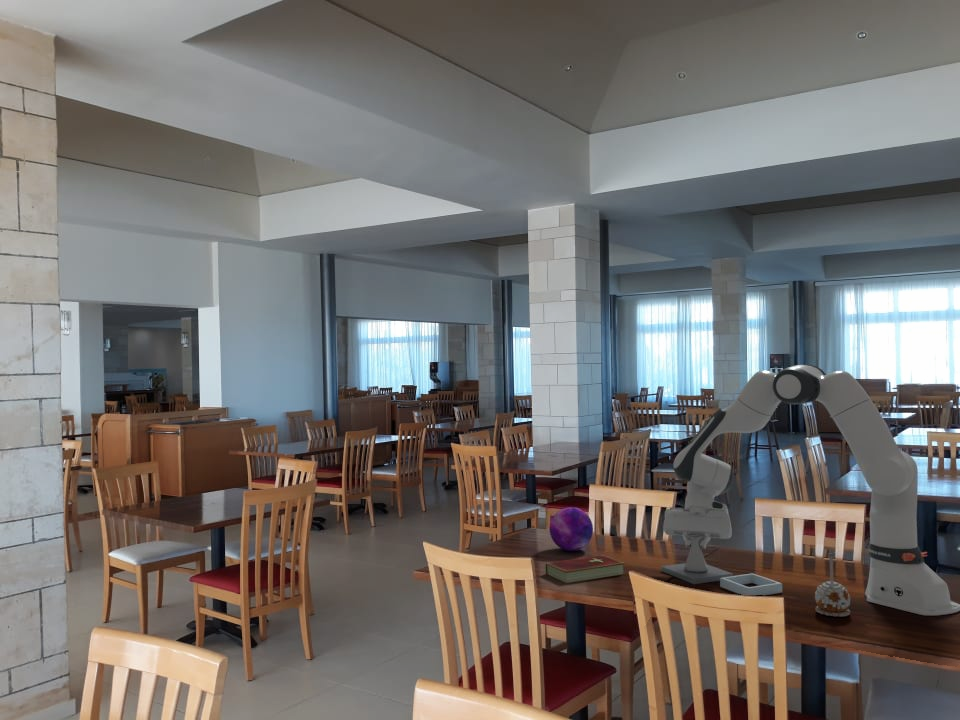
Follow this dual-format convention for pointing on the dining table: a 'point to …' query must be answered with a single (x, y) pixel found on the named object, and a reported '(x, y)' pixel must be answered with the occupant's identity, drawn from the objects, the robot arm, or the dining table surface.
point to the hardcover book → (584, 568)
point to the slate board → (695, 573)
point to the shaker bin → (765, 587)
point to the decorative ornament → (832, 597)
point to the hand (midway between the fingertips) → (695, 547)
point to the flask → (695, 557)
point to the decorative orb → (571, 529)
